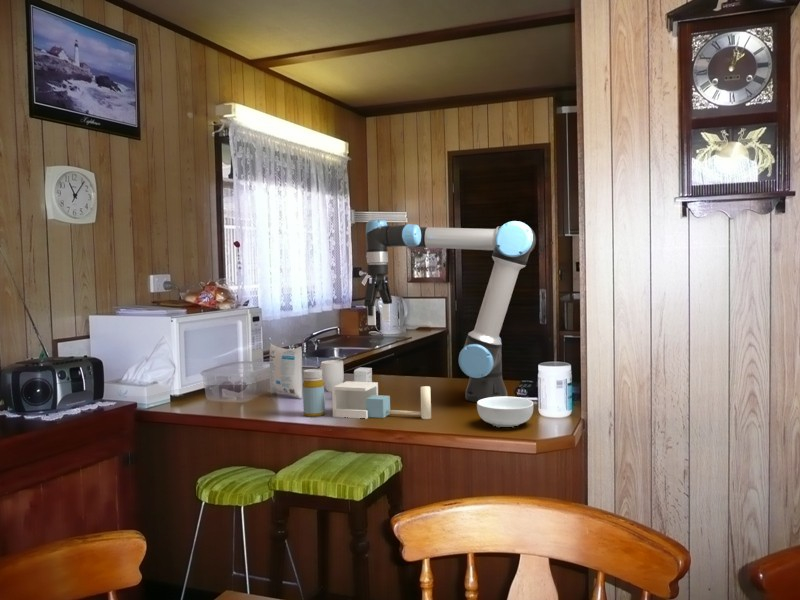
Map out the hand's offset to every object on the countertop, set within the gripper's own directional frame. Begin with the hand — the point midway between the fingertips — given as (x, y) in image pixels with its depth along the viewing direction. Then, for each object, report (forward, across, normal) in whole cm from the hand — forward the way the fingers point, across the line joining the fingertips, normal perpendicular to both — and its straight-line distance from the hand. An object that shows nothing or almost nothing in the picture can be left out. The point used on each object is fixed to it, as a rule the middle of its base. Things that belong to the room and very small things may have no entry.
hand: (379, 323), depth 228 cm
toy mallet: (+29, +19, +14) cm, 37 cm away
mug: (+29, -17, -29) cm, 44 cm away
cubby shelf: (+29, +19, -1) cm, 34 cm away
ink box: (+29, -2, -8) cm, 30 cm away
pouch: (+29, -3, -41) cm, 50 cm away
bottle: (+29, +23, -15) cm, 40 cm away
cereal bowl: (+29, +21, +49) cm, 61 cm away
